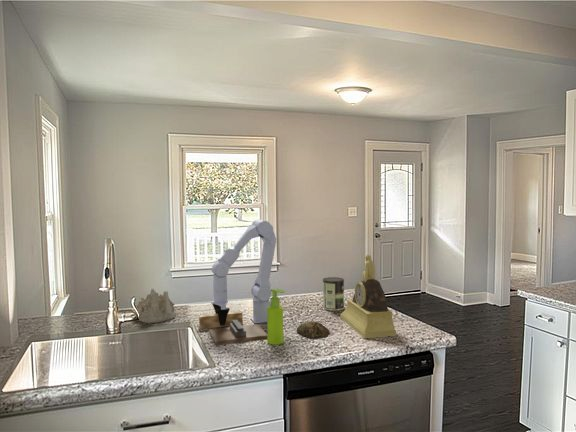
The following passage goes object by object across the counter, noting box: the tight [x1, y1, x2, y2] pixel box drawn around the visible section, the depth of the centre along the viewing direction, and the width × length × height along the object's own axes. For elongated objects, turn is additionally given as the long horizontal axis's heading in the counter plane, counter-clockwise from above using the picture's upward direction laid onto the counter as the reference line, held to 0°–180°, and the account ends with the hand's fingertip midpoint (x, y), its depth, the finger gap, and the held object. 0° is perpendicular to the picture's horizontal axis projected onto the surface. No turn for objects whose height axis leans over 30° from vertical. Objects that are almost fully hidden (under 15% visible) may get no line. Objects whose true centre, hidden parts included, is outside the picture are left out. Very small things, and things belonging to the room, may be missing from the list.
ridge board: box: [209, 320, 268, 346], centre depth 170 cm, size 20×15×4 cm
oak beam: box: [198, 310, 244, 330], centre depth 183 cm, size 18×3×5 cm, turn 109°
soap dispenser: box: [266, 288, 286, 346], centre depth 161 cm, size 6×7×20 cm
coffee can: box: [322, 276, 345, 312], centre depth 208 cm, size 10×10×14 cm
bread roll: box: [296, 320, 331, 339], centre depth 172 cm, size 13×12×5 cm
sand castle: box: [136, 287, 177, 324], centre depth 197 cm, size 16×16×15 cm
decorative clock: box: [339, 254, 397, 340], centre depth 178 cm, size 28×13×30 cm, turn 12°
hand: (221, 322), depth 183 cm, fingers open, 7 cm apart
